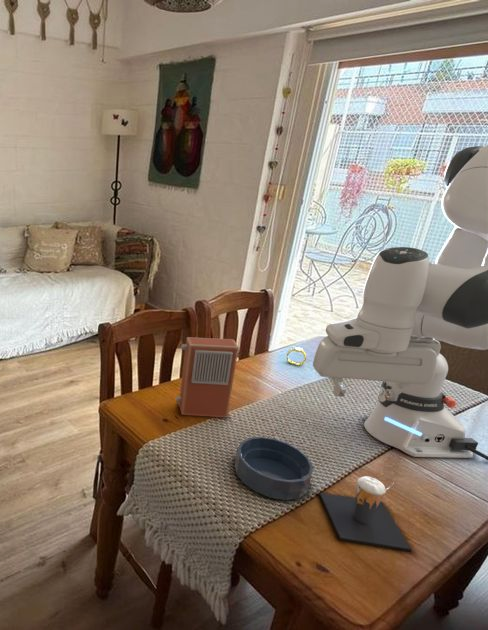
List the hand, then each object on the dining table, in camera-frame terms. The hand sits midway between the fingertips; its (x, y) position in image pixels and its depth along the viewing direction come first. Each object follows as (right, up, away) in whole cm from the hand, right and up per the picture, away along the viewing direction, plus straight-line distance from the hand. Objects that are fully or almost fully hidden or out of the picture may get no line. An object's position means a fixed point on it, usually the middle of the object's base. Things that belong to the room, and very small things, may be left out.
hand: (363, 397), depth 88 cm
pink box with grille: (-22, -11, +36) cm, 43 cm away
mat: (-1, -25, -1) cm, 25 cm away
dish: (-14, -20, +11) cm, 27 cm away
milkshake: (-1, -24, -1) cm, 24 cm away
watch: (+19, -1, +64) cm, 67 cm away
